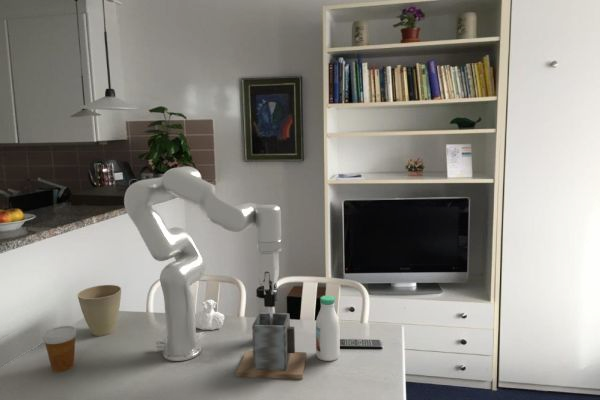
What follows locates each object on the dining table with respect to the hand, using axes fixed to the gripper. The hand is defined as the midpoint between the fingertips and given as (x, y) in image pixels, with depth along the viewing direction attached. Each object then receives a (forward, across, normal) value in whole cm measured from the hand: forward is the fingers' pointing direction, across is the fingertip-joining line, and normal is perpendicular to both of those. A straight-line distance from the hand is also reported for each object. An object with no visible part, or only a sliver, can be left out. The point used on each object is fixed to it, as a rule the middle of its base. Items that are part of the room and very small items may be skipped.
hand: (271, 303), depth 140 cm
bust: (+21, -28, -29) cm, 45 cm away
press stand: (+21, 0, 0) cm, 21 cm away
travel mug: (+21, -18, -5) cm, 28 cm away
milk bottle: (+21, -8, +17) cm, 28 cm away
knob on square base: (+13, 0, 0) cm, 13 cm away
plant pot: (+21, -21, -68) cm, 74 cm away
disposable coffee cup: (+21, +5, -67) cm, 70 cm away
